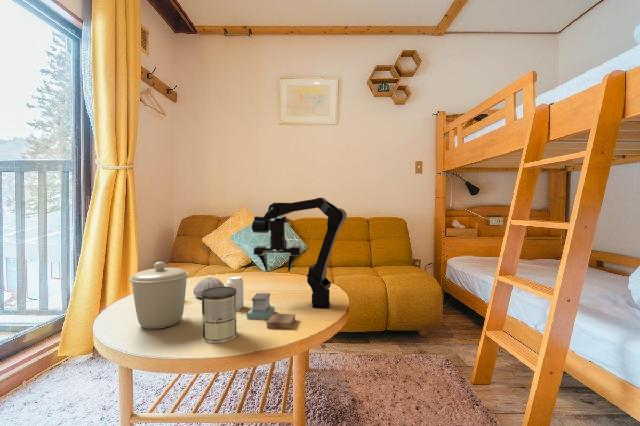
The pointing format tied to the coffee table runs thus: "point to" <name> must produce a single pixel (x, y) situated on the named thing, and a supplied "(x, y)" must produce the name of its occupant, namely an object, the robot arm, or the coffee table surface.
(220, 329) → the coffee can
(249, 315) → the stand
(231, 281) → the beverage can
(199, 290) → the sea urchin shell
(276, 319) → the brown flat square block
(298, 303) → the coffee table surface
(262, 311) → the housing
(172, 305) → the canister
